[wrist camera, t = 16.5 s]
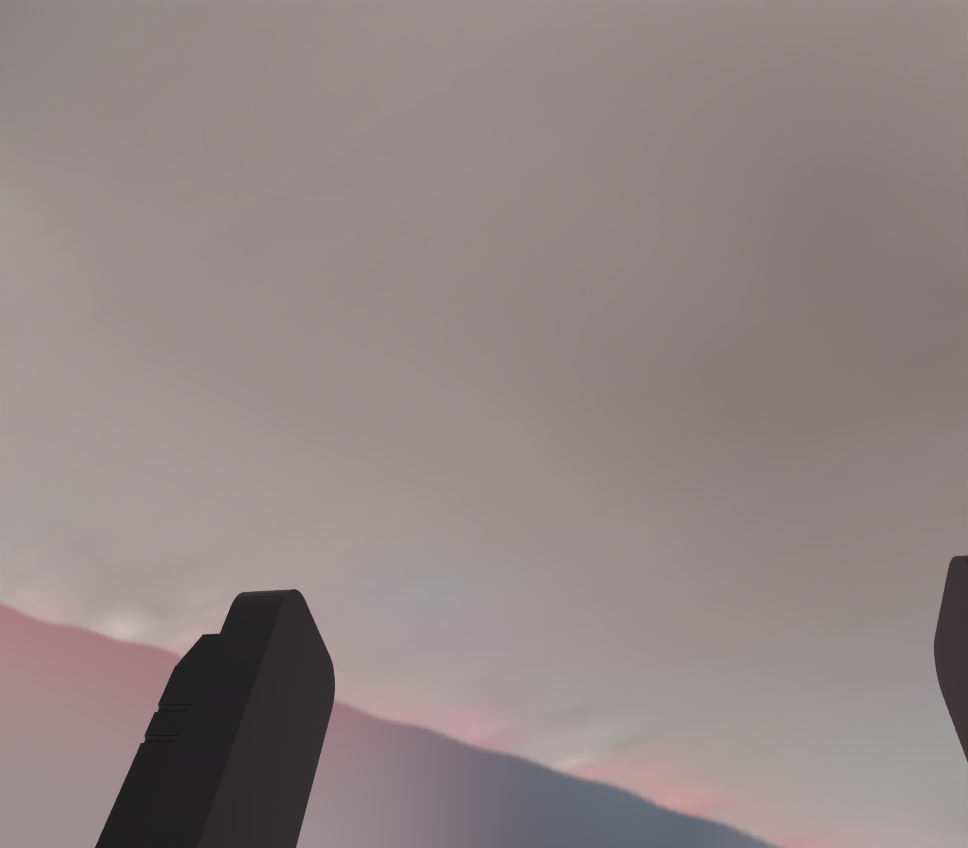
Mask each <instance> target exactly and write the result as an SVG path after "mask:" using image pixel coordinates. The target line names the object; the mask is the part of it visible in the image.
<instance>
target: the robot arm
mask: <svg viewBox="0 0 968 848" xmlns="http://www.w3.org/2000/svg"><path fill="white" fill-rule="evenodd" d="M934 656H935V665H936V671H937V676H938V681H939V685H940V688H941V691H942V694H943V697H944V700H945V702H946V705H947V708H948V710H949V713H950V716H951V718H952V721H953V724H954V726H955V729H956V732H957V735H958V737H959V740H960V743H961V745H962V748H963V751H964V753H965V756H966V759H967V761H968V556H955V557H953V558H952V560H951V562H950V564H949V568H948V573H947V578H946V583H945V588H944V593H943V598H942V603H941V608H940V613H939V619H938V624H937V629H936V634H935V640H934ZM334 693H335V677H334V669H333V664H332V661H331V658H330V655H329V653H328V651H327V649H326V646H325V644H324V642H323V640H322V637H321V635H320V633H319V631H318V628H317V626H316V624H315V622H314V619H313V617H312V615H311V613H310V610H309V608H308V606H307V604H306V601H305V599H304V597H303V595H302V594H301V593H300V592H299V591H298V590H295V589H292V590H274V591H255V592H242V593H240V594H239V595H238V596H237V597H236V598H235V599H234V601H233V603H232V605H231V607H230V610H229V612H228V615H227V617H226V620H225V622H224V625H223V627H222V630H221V632H220V634H205V635H202V636H201V638H200V639H199V640H198V641H197V642H196V643H195V644H194V646H193V647H192V648H191V649H190V650H189V651H188V653H187V654H186V655H185V656H184V657H183V658H182V659H181V661H180V662H179V663H178V664H177V665H176V666H175V668H174V670H173V672H172V674H171V676H170V679H169V681H168V684H167V686H166V688H165V690H164V693H163V695H162V697H161V699H160V701H159V704H158V706H159V710H158V712H155V713H154V715H153V718H152V720H151V722H150V724H149V726H148V729H147V731H146V733H145V742H144V743H141V744H140V747H139V749H138V752H137V754H136V756H135V758H134V760H133V763H132V765H131V767H130V770H129V772H128V774H127V776H126V779H125V781H124V783H123V785H122V788H121V790H120V792H119V794H118V797H117V799H116V802H115V804H114V806H113V808H112V810H111V813H110V815H109V817H108V819H107V822H106V824H105V826H104V829H103V831H102V833H101V835H100V837H99V840H98V842H97V844H96V847H95V848H296V845H297V842H298V838H299V834H300V830H301V826H302V822H303V818H304V815H305V811H306V807H307V803H308V799H309V795H310V792H311V788H312V784H313V780H314V776H315V772H316V768H317V765H318V761H319V757H320V753H321V749H322V745H323V742H324V738H325V734H326V730H327V726H328V722H329V719H330V715H331V711H332V707H333V702H334Z"/></svg>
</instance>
